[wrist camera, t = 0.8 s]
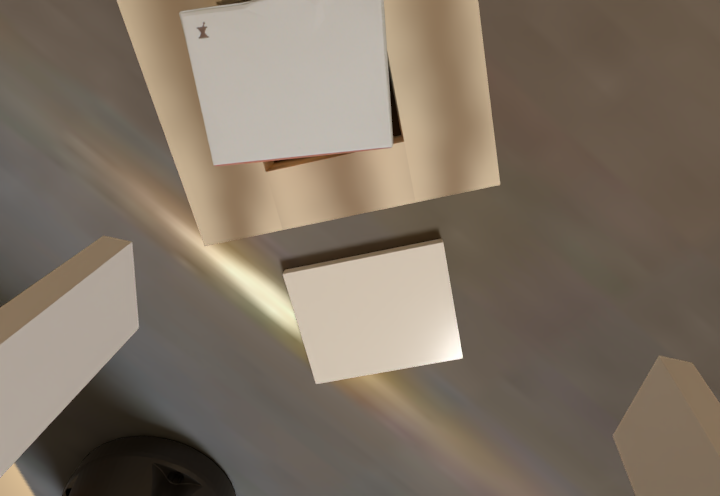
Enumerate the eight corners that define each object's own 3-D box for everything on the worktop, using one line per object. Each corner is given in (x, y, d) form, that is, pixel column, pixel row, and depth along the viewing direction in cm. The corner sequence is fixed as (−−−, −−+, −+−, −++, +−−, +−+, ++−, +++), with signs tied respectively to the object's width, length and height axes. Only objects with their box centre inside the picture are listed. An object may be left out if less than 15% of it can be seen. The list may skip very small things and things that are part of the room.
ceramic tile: (317, 378, 40) (315, 384, 40) (284, 269, 37) (282, 274, 36) (461, 352, 39) (463, 358, 38) (441, 238, 36) (443, 242, 35)
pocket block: (217, 231, 36) (204, 246, 33) (123, -43, 30) (97, -53, 27) (489, 174, 34) (500, 184, 31) (450, -131, 28) (459, -152, 25)
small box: (266, 129, 33) (208, 169, 21) (249, 27, 31) (172, 6, 19) (385, 116, 33) (395, 149, 21) (376, 12, 30) (382, -19, 18)
